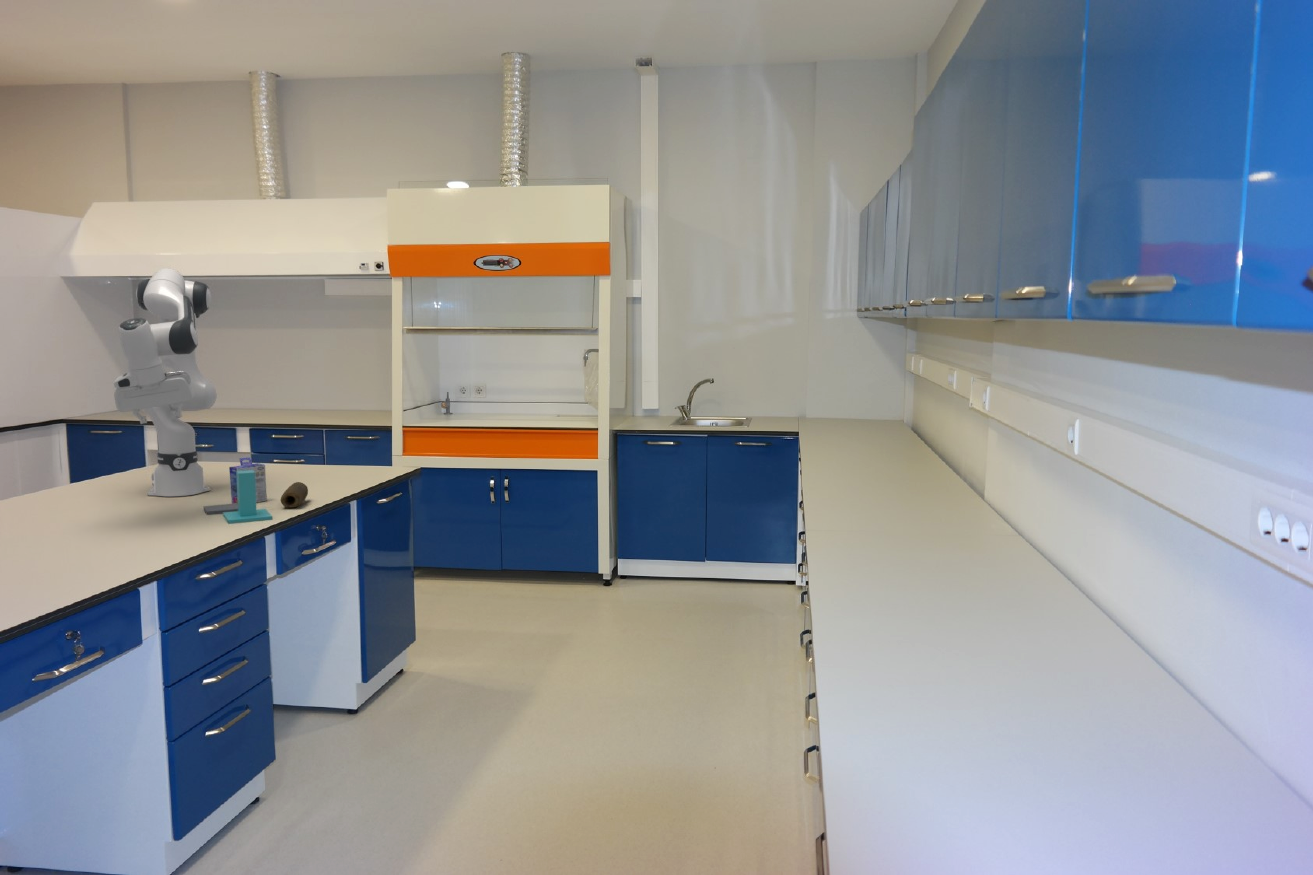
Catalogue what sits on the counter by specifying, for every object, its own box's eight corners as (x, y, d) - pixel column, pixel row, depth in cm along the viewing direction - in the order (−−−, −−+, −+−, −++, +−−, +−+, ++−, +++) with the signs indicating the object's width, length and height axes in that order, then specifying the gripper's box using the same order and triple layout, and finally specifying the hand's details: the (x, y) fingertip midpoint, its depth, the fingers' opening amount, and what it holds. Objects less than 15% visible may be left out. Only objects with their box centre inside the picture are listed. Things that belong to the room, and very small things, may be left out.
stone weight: (286, 500, 298) (285, 480, 298) (309, 500, 300) (308, 480, 299) (280, 510, 284) (279, 489, 283) (303, 509, 286) (303, 488, 285)
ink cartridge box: (259, 498, 300) (257, 455, 298) (268, 501, 297) (266, 457, 295) (229, 503, 292) (228, 459, 291) (238, 505, 289) (236, 461, 287)
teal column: (238, 513, 273) (236, 471, 271) (254, 512, 275) (252, 470, 274) (240, 516, 269) (238, 473, 268) (256, 515, 272) (254, 472, 270)
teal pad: (222, 515, 274) (222, 512, 274) (265, 511, 281) (265, 508, 281) (228, 523, 264) (228, 520, 264) (272, 519, 271) (272, 516, 271)
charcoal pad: (203, 509, 283) (203, 506, 282) (245, 505, 289) (244, 502, 289) (206, 514, 275) (206, 511, 275) (249, 511, 281) (249, 507, 281)
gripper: (189, 366, 266) (201, 410, 271) (112, 378, 261) (126, 423, 266) (185, 372, 261) (198, 417, 266) (107, 384, 255) (121, 429, 260)
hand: (161, 420), depth 266 cm, fingers open, 8 cm apart
